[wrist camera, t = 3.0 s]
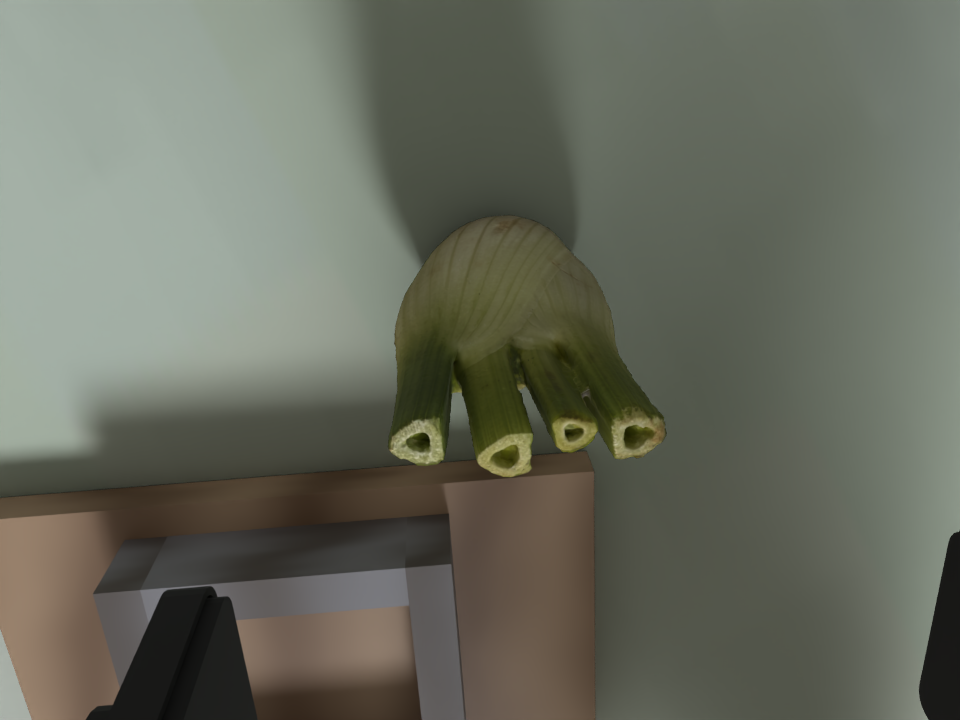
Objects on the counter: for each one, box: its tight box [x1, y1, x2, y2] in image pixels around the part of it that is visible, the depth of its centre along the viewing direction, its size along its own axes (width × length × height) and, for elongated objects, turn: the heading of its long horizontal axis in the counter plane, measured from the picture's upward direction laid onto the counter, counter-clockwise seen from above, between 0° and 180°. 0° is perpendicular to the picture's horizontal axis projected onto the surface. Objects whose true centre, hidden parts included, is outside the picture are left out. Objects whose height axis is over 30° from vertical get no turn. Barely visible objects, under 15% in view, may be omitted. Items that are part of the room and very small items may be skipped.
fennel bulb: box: [388, 215, 667, 477], centre depth 22 cm, size 6×5×12 cm
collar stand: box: [0, 451, 595, 720], centre depth 31 cm, size 22×14×4 cm, turn 93°
